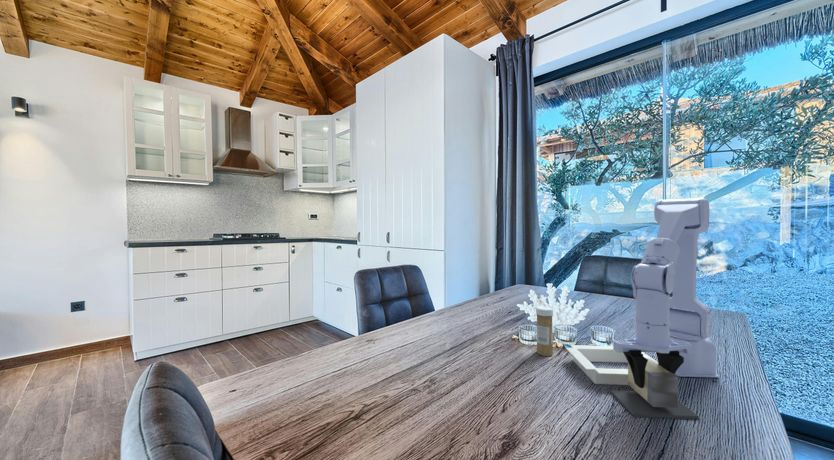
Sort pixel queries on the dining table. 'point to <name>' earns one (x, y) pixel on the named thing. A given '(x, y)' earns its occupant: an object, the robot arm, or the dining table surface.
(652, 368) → the birch block
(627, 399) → the rubber mat
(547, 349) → the sprinkles bottle
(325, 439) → the dining table surface
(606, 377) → the white flat frame
